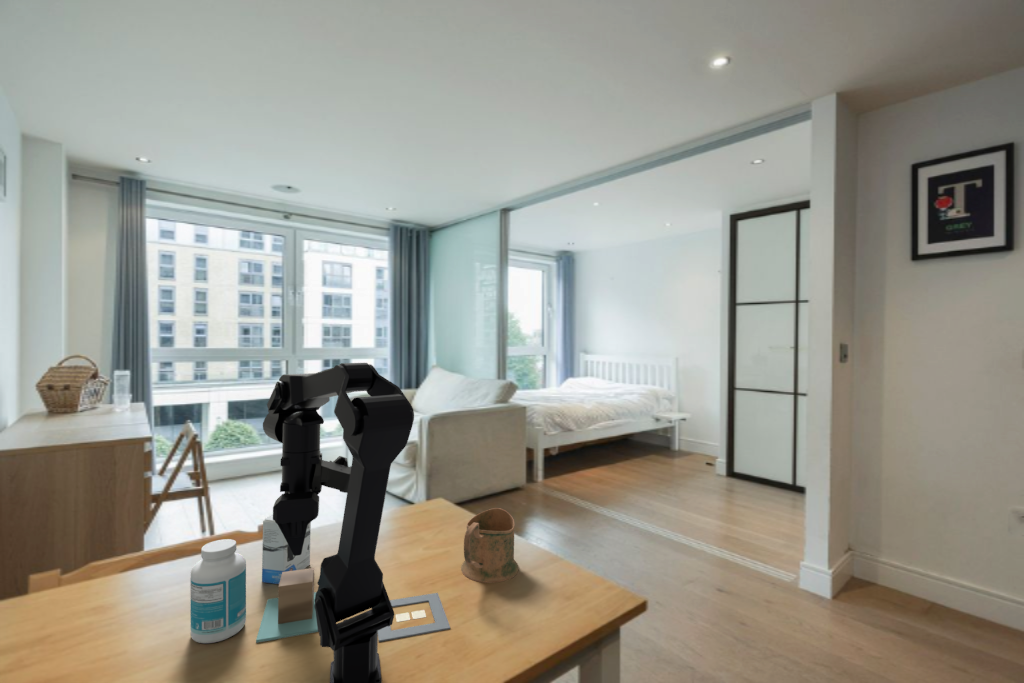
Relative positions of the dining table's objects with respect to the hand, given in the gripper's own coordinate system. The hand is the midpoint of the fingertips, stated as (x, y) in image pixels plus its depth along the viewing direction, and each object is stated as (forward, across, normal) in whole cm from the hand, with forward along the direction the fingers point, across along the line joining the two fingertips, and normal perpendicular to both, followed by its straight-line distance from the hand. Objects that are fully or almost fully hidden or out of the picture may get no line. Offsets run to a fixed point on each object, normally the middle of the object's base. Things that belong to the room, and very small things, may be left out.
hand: (299, 543), depth 80 cm
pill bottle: (+12, -1, +11) cm, 17 cm away
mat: (+12, 0, 0) cm, 12 cm away
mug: (+12, +4, -33) cm, 35 cm away
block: (+12, 0, 0) cm, 12 cm away
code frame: (+12, -6, -18) cm, 22 cm away
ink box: (+12, +16, +3) cm, 20 cm away
